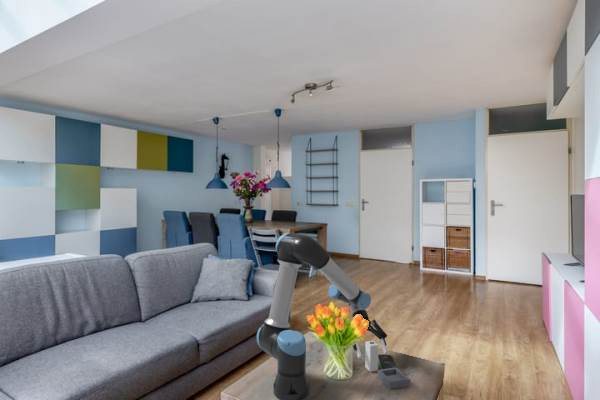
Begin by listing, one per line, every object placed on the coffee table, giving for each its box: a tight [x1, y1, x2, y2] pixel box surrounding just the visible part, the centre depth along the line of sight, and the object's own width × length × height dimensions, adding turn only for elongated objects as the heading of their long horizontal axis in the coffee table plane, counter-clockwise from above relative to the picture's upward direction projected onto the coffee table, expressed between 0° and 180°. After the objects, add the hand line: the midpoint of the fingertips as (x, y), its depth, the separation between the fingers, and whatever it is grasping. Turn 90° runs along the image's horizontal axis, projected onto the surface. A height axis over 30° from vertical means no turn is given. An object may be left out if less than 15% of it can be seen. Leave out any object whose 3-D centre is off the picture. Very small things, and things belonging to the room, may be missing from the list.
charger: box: [364, 340, 379, 373], centre depth 166 cm, size 4×5×13 cm
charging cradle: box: [377, 367, 410, 390], centre depth 155 cm, size 9×10×3 cm
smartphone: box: [378, 354, 398, 370], centre depth 172 cm, size 8×1×15 cm
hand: (373, 355), depth 166 cm, fingers open, 13 cm apart
